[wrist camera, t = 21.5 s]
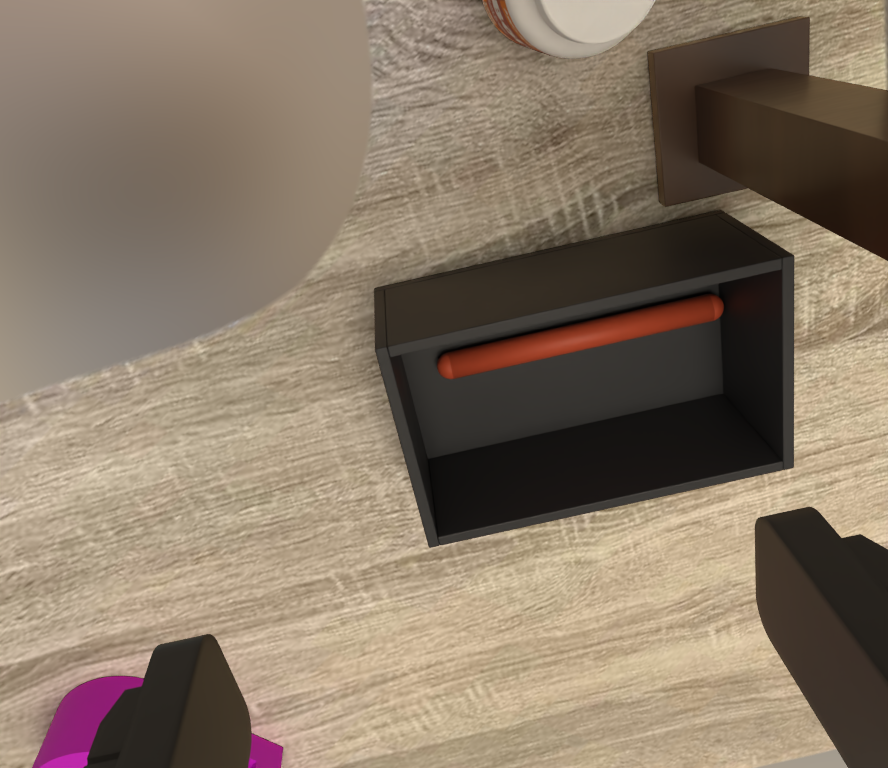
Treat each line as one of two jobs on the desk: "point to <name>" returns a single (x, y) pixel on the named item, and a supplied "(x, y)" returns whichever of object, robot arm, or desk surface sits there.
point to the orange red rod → (580, 336)
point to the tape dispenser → (87, 708)
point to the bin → (591, 377)
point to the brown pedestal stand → (771, 130)
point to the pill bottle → (567, 24)
